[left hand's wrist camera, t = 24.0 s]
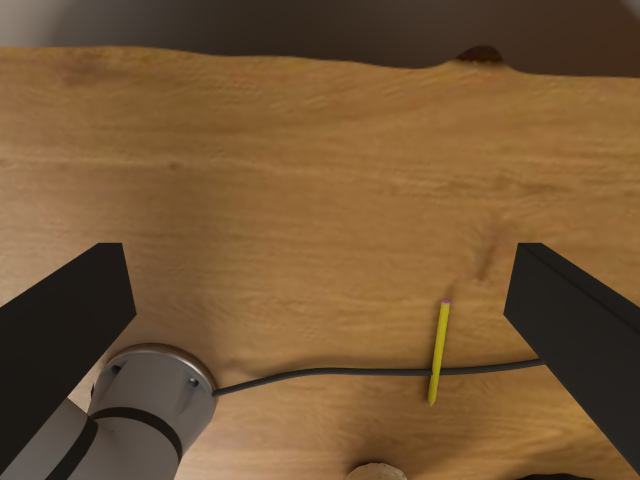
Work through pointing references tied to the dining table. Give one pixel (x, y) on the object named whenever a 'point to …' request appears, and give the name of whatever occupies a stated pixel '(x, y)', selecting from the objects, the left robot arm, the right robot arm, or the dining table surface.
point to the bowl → (376, 472)
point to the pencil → (438, 350)
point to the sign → (554, 477)
